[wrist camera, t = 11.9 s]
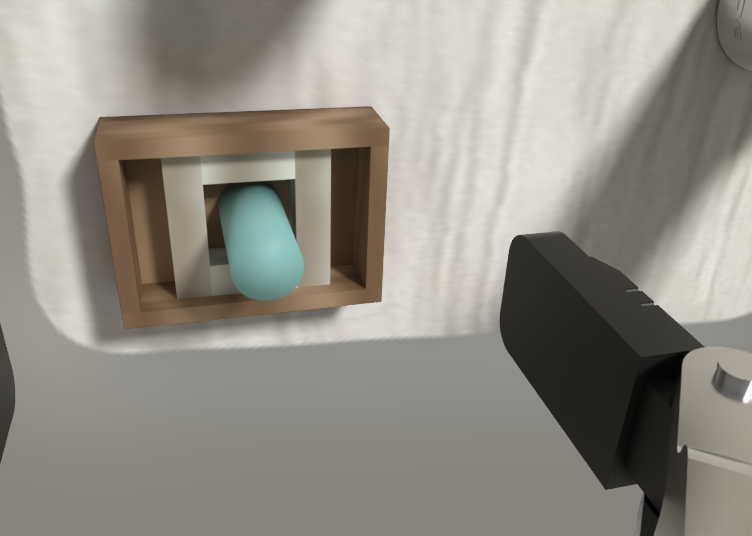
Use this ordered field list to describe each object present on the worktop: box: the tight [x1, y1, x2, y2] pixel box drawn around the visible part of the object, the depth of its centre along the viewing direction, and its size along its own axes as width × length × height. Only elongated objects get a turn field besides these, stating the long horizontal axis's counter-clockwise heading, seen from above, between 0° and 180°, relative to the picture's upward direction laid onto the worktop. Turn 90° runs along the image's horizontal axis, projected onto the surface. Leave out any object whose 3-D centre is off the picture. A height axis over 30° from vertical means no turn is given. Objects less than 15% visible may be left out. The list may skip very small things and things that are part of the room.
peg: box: [218, 181, 304, 301], centre depth 39 cm, size 4×4×8 cm
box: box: [94, 107, 390, 329], centre depth 41 cm, size 15×11×4 cm
